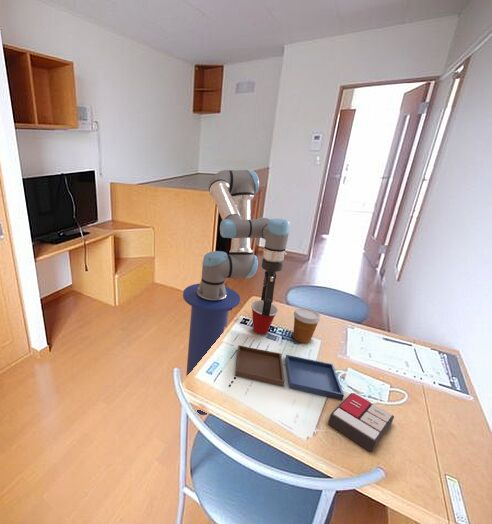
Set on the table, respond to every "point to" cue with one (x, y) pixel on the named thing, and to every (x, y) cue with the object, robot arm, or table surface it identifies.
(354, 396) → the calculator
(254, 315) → the plastic cup
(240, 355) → the paper tray
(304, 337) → the disposable coffee cup
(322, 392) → the plastic tray
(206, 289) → the robot arm
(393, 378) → the table surface
